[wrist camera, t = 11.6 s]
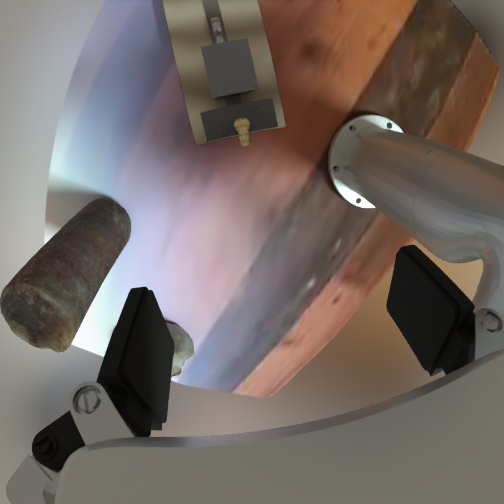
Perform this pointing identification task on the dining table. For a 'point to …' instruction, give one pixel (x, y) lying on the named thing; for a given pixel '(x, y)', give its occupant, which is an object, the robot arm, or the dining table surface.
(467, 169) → the robot arm
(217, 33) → the dark grey block
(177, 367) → the ceramic sculpture
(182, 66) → the rail board
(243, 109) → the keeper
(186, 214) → the dining table surface
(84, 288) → the candle
